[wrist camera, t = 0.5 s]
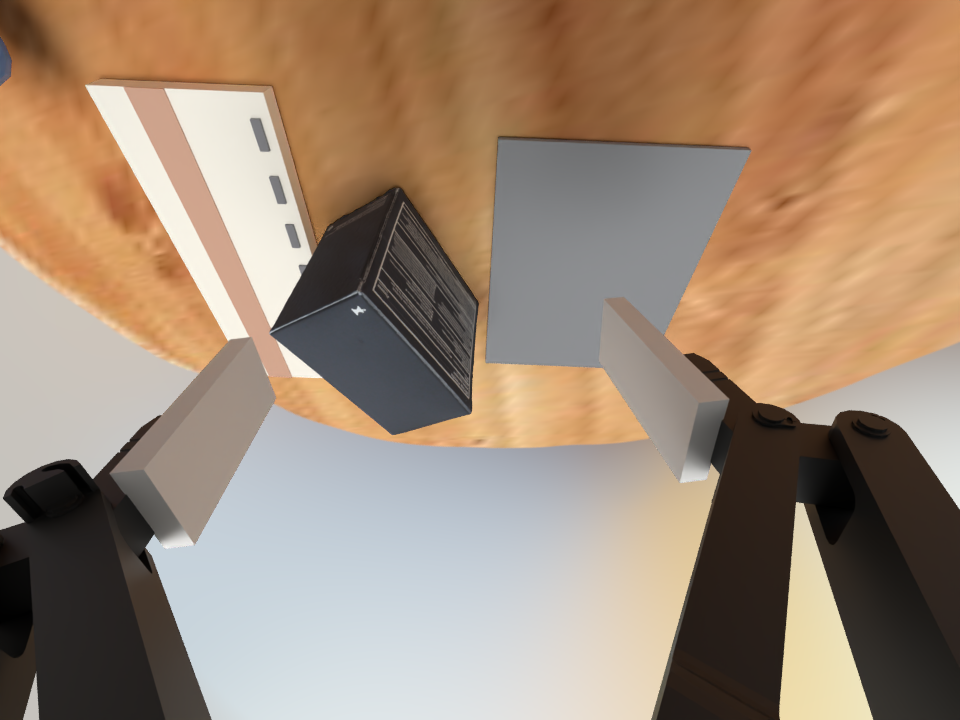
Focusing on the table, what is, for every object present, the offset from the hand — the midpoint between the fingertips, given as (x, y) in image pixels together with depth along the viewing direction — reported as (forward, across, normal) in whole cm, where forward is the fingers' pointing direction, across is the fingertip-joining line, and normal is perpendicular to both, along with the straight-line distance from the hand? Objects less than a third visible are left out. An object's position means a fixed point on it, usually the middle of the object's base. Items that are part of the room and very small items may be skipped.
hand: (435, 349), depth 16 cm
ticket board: (+16, -13, 0) cm, 21 cm away
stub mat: (+14, +11, -3) cm, 18 cm away
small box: (+16, -2, -2) cm, 16 cm away
